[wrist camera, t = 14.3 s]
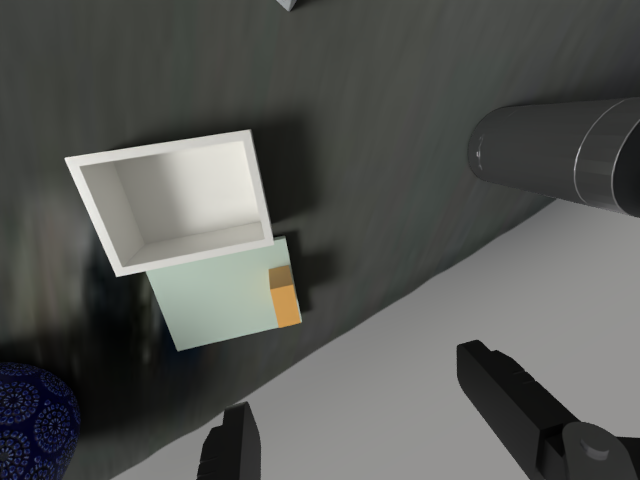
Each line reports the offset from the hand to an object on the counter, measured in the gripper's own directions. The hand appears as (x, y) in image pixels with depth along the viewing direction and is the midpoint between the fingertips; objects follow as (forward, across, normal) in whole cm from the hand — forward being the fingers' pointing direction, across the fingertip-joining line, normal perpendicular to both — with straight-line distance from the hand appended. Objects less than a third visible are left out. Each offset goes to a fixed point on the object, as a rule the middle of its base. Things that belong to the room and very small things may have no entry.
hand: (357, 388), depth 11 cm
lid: (+28, +10, +8) cm, 31 cm away
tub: (+27, +10, -4) cm, 30 cm away
